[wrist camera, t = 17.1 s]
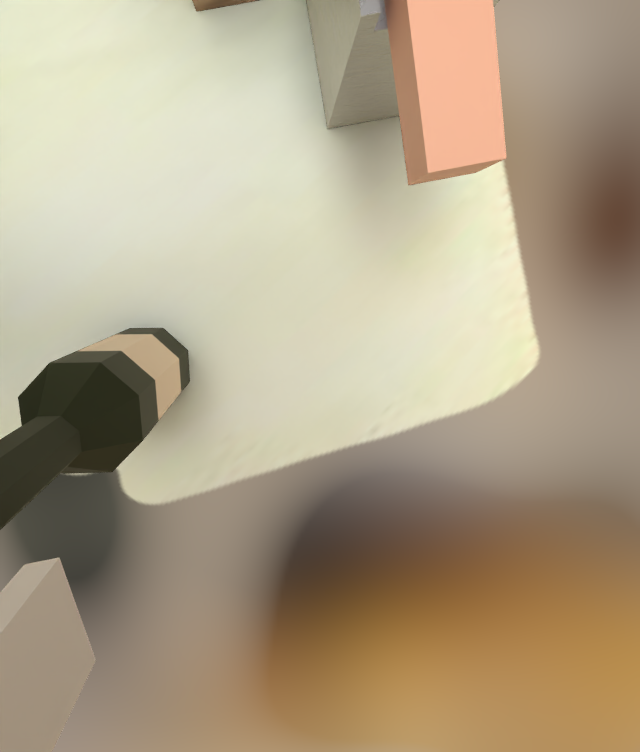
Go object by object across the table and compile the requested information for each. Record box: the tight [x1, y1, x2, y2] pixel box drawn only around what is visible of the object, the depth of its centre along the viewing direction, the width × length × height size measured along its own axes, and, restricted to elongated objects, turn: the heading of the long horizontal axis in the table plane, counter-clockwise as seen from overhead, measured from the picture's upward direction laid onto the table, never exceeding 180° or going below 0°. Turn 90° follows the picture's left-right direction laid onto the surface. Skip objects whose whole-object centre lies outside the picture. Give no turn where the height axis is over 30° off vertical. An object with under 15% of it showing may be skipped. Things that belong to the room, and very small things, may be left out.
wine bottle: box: [0, 328, 190, 530], centre depth 34 cm, size 8×8×30 cm
